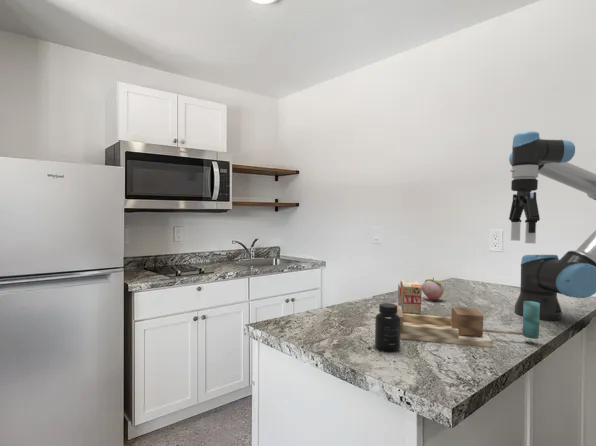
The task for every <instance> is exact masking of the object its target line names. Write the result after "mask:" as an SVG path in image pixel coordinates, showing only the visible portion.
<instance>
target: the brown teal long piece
mask: <svg viewBox="0 0 596 446" xmlns="http://www.w3.org/2000/svg"><path fill="white" fill-rule="evenodd" d="M539 314H540V303H538V302H533V301H524V306H523V316H522V331H512V330H511V331H510V330H509V331H508V330H500V329H498V330H497V329H489V328H484V316H483V314H482V313H480V312H479V310H477V308H476V307H475V308H473V307H472V308H471V307H460V306H459V307H457V306H452V307H451V326H452V327H453V328H455V329H458V330H459V335H469V336H480V337H483V332H485V333H494V334H506V335H519V336H523V337H524V338H528V339H531V340H533V339H535V340H536V339H537V340H538V339H539V338H540V335H539V334H540V319H539Z"/></svg>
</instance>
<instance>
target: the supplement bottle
mask: <svg viewBox="0 0 596 446" xmlns="http://www.w3.org/2000/svg"><path fill="white" fill-rule="evenodd" d="M397 306H398V304H394V303H391V302H390V303H389V302H384V303H379V307H378V308H379V309H378V312H379V313H377V314H376V315H375V321H374V322H375V324H374V325H375V326H374V329H375V330H374V333H375V334H374V346H375V348H376V349H377V350H379V351H381V352H387V353H394V352H397V351H399V350H400V348H401V339H400V329H401V319H400V317H399V316H398V315H397V314H396V313H397Z"/></svg>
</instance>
